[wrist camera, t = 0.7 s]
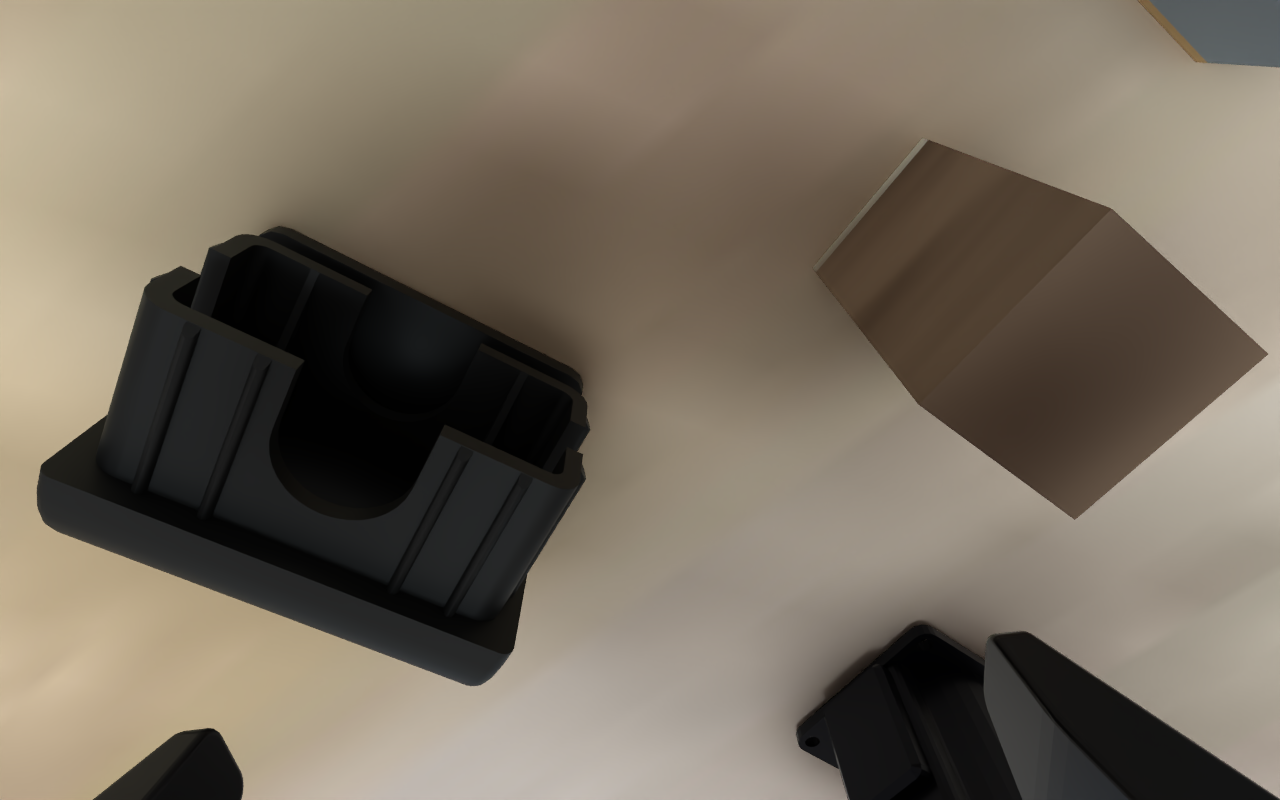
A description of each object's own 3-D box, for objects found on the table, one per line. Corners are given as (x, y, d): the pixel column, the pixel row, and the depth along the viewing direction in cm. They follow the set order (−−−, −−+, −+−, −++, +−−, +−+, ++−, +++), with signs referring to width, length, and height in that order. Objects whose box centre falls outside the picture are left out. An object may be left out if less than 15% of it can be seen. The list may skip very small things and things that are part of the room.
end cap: (177, 427, 22) (4, 583, 16) (252, 207, 19) (77, 292, 13) (499, 562, 24) (456, 744, 18) (605, 382, 21) (597, 525, 15)
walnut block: (1032, 233, 20) (1268, 353, 12) (920, 350, 21) (1074, 519, 14) (922, 137, 18) (1111, 208, 11) (812, 267, 20) (919, 404, 13)
